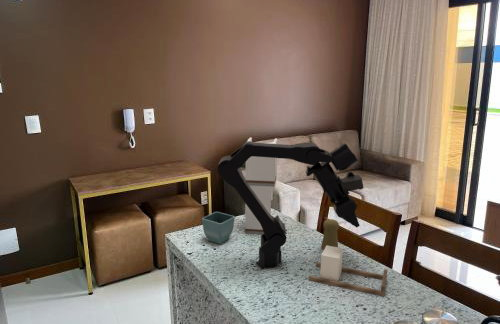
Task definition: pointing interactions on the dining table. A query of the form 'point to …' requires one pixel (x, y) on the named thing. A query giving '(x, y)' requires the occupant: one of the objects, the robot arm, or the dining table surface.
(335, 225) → the olive bell shape
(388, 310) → the dining table surface
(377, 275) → the board
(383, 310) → the dining table surface
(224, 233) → the flower pot
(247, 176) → the tall white pillar
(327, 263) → the cream block
